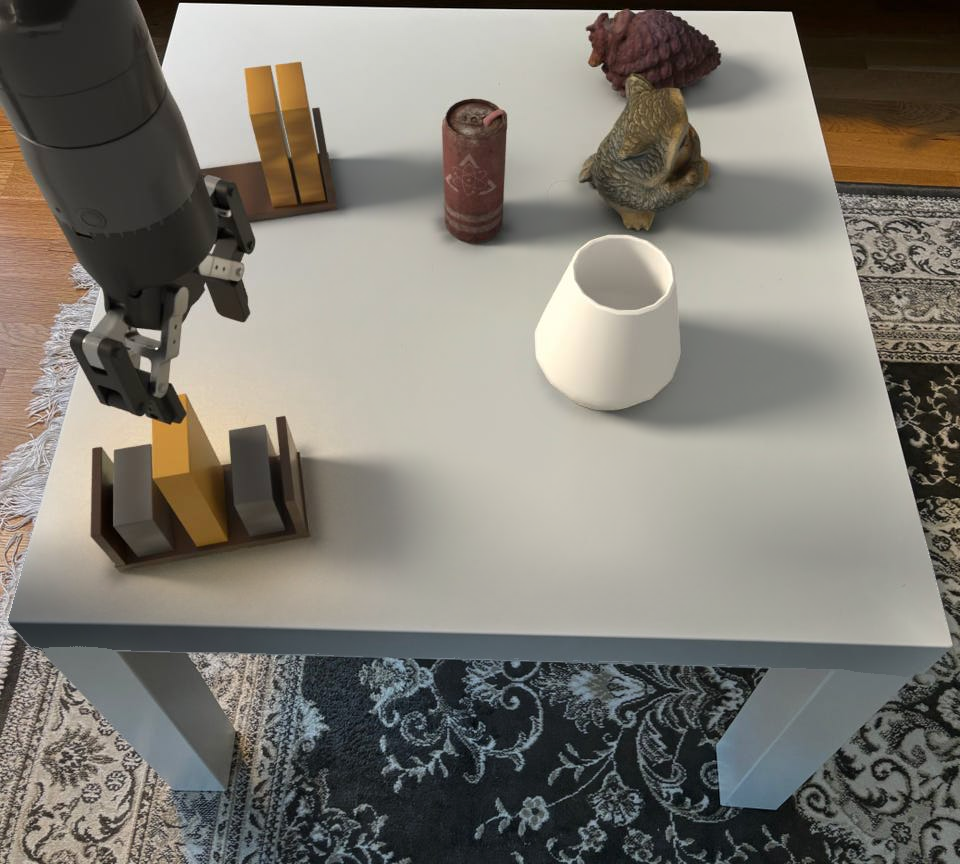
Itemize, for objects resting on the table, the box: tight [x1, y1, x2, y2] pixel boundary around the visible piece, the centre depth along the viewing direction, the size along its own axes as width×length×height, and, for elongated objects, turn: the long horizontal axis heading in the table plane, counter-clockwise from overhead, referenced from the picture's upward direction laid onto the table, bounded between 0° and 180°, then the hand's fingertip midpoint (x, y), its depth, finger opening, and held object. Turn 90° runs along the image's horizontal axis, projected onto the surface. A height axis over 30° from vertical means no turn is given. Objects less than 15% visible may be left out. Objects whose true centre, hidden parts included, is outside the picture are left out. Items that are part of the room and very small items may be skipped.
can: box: [441, 98, 508, 245], centre depth 88 cm, size 6×6×14 cm
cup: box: [534, 234, 682, 411], centre depth 79 cm, size 13×13×14 cm
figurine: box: [578, 74, 711, 232], centre depth 90 cm, size 14×15×15 cm
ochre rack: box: [200, 61, 339, 223], centre depth 91 cm, size 16×8×13 cm, turn 102°
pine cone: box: [585, 8, 722, 99], centre depth 103 cm, size 18×10×10 cm
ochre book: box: [151, 393, 228, 547], centre depth 71 cm, size 3×7×12 cm, turn 12°
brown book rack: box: [89, 415, 312, 573], centre depth 74 cm, size 16×8×7 cm, turn 102°
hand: (203, 364), depth 58 cm, fingers open, 8 cm apart
